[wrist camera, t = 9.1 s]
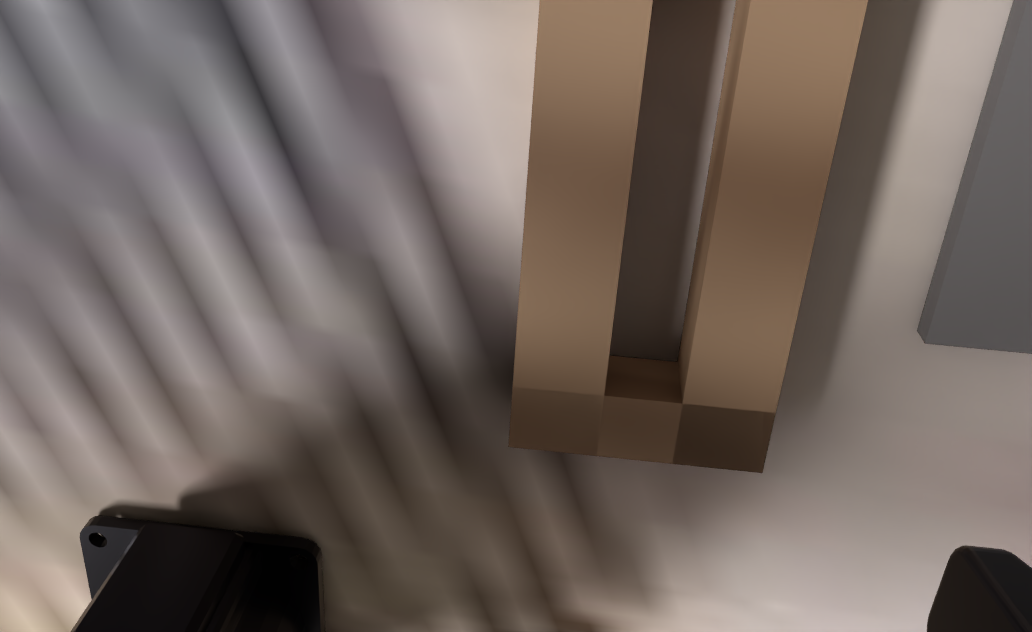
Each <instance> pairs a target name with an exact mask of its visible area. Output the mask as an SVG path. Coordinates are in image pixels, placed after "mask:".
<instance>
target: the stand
mask: <svg viewBox="0 0 1032 632" xmlns="http://www.w3.org/2000/svg"><path fill="white" fill-rule="evenodd" d="M652 3H653V0H540V5H539V19H538V33H537V47H536V61H535V76H534V90H533V104H532V118H531V133H530V147H529V161H528V175H527V189H526V204H525V218H524V232H523V246H522V261H521V275H520V289H519V303H518V317H517V332H516V346H515V360H514V374H513V389H512V403H511V417H510V431H509V445H508V447H514V448H524V449H534V450H544V451H553V452H563V453H573V454H583V455H592V456H602V457H612V458H621V459H631V460H641V461H651V462H660V463H670V464H680V465H690V466H699V467H709V468H719V469H729V470H738V471H748V472H758V473H762V472H763V468H764V463H765V459H766V454H767V450H768V445H769V441H770V436H771V432H772V427H773V423H774V418H775V414H776V410H777V405H778V401H779V396H780V392H781V387H782V383H783V378H784V374H785V369H786V365H787V360H788V356H789V352H790V347H791V343H792V338H793V334H794V329H795V325H796V320H797V316H798V311H799V307H800V302H801V298H802V294H803V289H804V285H805V280H806V276H807V271H808V267H809V262H810V258H811V253H812V249H813V244H814V240H815V236H816V231H817V227H818V222H819V218H820V213H821V209H822V204H823V200H824V195H825V191H826V186H827V182H828V178H829V173H830V169H831V164H832V160H833V155H834V151H835V146H836V142H837V137H838V133H839V128H840V124H841V120H842V115H843V111H844V106H845V102H846V97H847V93H848V88H849V84H850V79H851V75H852V70H853V66H854V62H855V57H856V53H857V48H858V44H859V39H860V35H861V30H862V26H863V21H864V17H865V12H866V8H867V4H868V0H736V4H735V10H734V17H733V23H732V29H731V35H730V41H729V47H728V54H727V60H726V66H725V72H724V78H723V84H722V91H721V97H720V103H719V109H718V115H717V121H716V128H715V134H714V140H713V146H712V152H711V158H710V165H709V171H708V177H707V183H706V189H705V195H704V202H703V208H702V214H701V220H700V226H699V232H698V239H697V245H696V251H695V257H694V263H693V269H692V275H691V282H690V288H689V294H688V300H687V306H686V312H685V319H684V325H683V331H682V337H681V343H680V349H679V356H678V362H672V361H661V360H651V359H641V358H630V357H620V356H610V355H609V352H610V344H611V336H612V328H613V320H614V312H615V304H616V295H617V287H618V279H619V271H620V263H621V255H622V247H623V239H624V231H625V222H626V214H627V206H628V198H629V190H630V182H631V174H632V166H633V158H634V149H635V141H636V133H637V125H638V117H639V109H640V101H641V93H642V85H643V76H644V68H645V60H646V52H647V44H648V36H649V28H650V20H651V12H652Z"/></svg>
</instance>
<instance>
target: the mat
mask: <svg viewBox="0 0 1032 632" xmlns="http://www.w3.org/2000/svg"><path fill="white" fill-rule="evenodd" d="M917 331H918V333H919V335H920V336H921V338H922V339H923V341H924V343H925V344H935V345H946V346H956V347H967V348H977V349H988V350H998V351H1009V352H1019V353H1030V354H1032V0H1014V1H1013V4H1012V8H1011V11H1010V14H1009V18H1008V21H1007V25H1006V28H1005V32H1004V35H1003V38H1002V42H1001V45H1000V49H999V52H998V56H997V59H996V62H995V66H994V69H993V73H992V76H991V80H990V83H989V86H988V90H987V93H986V97H985V100H984V103H983V107H982V110H981V114H980V117H979V121H978V124H977V127H976V131H975V134H974V138H973V141H972V145H971V148H970V151H969V155H968V158H967V162H966V165H965V168H964V172H963V175H962V179H961V182H960V186H959V189H958V192H957V196H956V199H955V203H954V206H953V210H952V213H951V216H950V220H949V223H948V227H947V230H946V234H945V237H944V240H943V244H942V247H941V251H940V254H939V257H938V261H937V264H936V268H935V271H934V275H933V278H932V281H931V285H930V288H929V292H928V295H927V299H926V302H925V305H924V309H923V312H922V316H921V319H920V322H919V326H918V329H917Z"/></svg>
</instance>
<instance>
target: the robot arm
mask: <svg viewBox="0 0 1032 632" xmlns="http://www.w3.org/2000/svg"><path fill="white" fill-rule="evenodd" d="M98 533H100V534H102V535H103V536H105V537H102V536H101V535H99V534H98ZM80 541H81V547H82V552H83V557H84V562H85V567H86V572H87V578H88V583H89V588H90V593H91V598H92V601H91V602H90V604H89V605H88V607H87V608H86V610H85V611H84V613H83V614H82V616H81V617H80V618H79V620H78V621H77V623H76V624H75V626H74V627H73V629H72V630H71V632H325V616H324V593H323V570H322V553H321V549H320V548H319V546H318V545H317V544H316V543H315V542H313V541H311V540H310V539H306V538H302V537H292V536H283V535H274V534H265V533H256V532H246V531H237V530H228V529H219V528H210V527H200V526H191V525H182V524H173V523H164V522H154V521H145V520H136V519H127V518H118V517H108V516H95V517H93V518H91V519H90V520H89V521H88V523H87V524H86V525H85V527H84V528H83V529H82V531H81V532H80ZM296 555H301V556H304V557H305V558H306V559H301V558H299V557H297V556H296ZM927 632H1032V568H1031V567H1030V566H1028V565H1027V564H1026V563H1024V562H1023V561H1022V560H1020V559H1019V558H1018V557H1017V556H1015V555H1014V554H1012V553H1011V552H1008V551H1006V550H1002V549H994V548H985V547H975V546H961V547H959V548H957V549H955V551H954V552H953V553H952V554H951V556H950V558H949V560H948V563H947V566H946V569H945V571H944V574H943V577H942V580H941V582H940V585H939V588H938V591H937V594H936V596H935V599H934V602H933V605H932V607H931V610H930V613H929V617H928V623H927Z"/></svg>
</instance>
